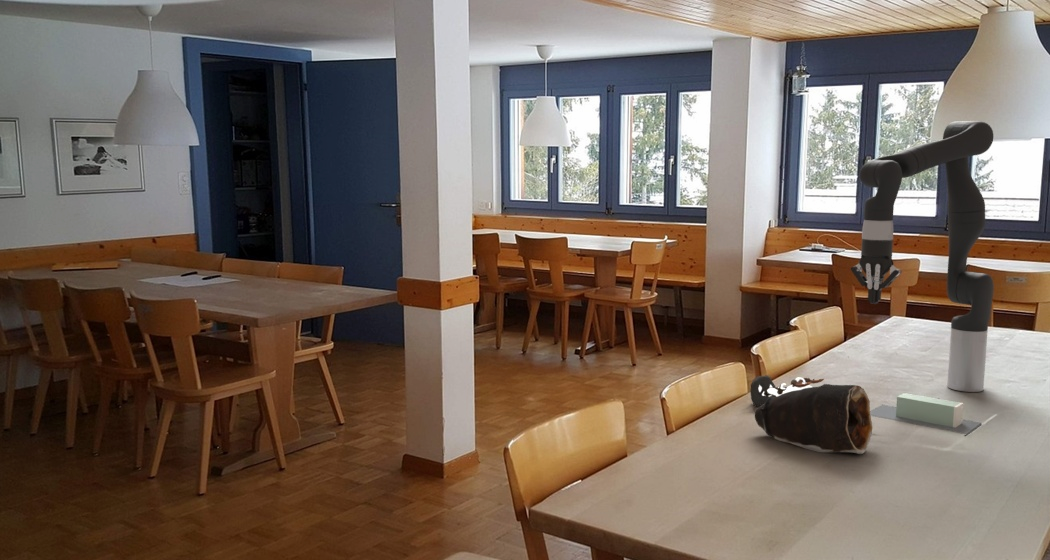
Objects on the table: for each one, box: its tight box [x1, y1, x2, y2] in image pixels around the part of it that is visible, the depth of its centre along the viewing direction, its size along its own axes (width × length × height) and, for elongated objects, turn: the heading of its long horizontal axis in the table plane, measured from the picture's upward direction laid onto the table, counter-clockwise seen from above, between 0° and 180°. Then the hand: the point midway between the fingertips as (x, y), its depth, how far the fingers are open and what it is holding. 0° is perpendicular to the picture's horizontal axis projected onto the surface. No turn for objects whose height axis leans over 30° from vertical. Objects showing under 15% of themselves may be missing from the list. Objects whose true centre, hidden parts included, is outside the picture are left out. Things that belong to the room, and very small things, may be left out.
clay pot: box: [754, 383, 873, 455], centre depth 197 cm, size 15×15×25 cm
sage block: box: [895, 392, 964, 428], centre depth 213 cm, size 5×5×14 cm
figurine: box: [749, 374, 825, 407], centre depth 226 cm, size 14×10×18 cm
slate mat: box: [870, 404, 983, 437], centre depth 215 cm, size 12×24×1 cm, turn 47°
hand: (873, 303), depth 227 cm, fingers closed
